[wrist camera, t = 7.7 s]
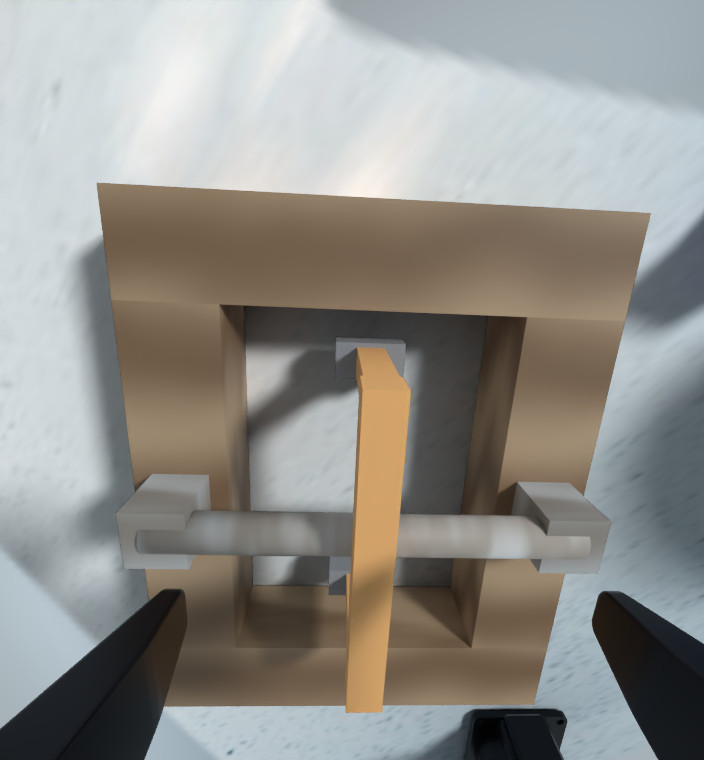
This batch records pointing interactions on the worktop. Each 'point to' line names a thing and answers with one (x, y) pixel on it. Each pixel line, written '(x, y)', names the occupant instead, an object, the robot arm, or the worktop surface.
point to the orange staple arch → (372, 512)
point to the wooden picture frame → (334, 530)
